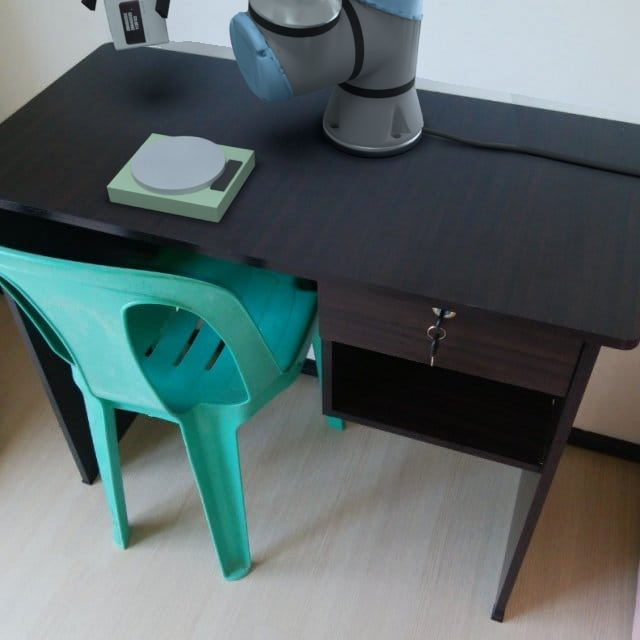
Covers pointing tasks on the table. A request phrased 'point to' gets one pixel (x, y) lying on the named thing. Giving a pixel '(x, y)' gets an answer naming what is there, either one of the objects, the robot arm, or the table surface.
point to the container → (135, 23)
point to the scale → (183, 176)
